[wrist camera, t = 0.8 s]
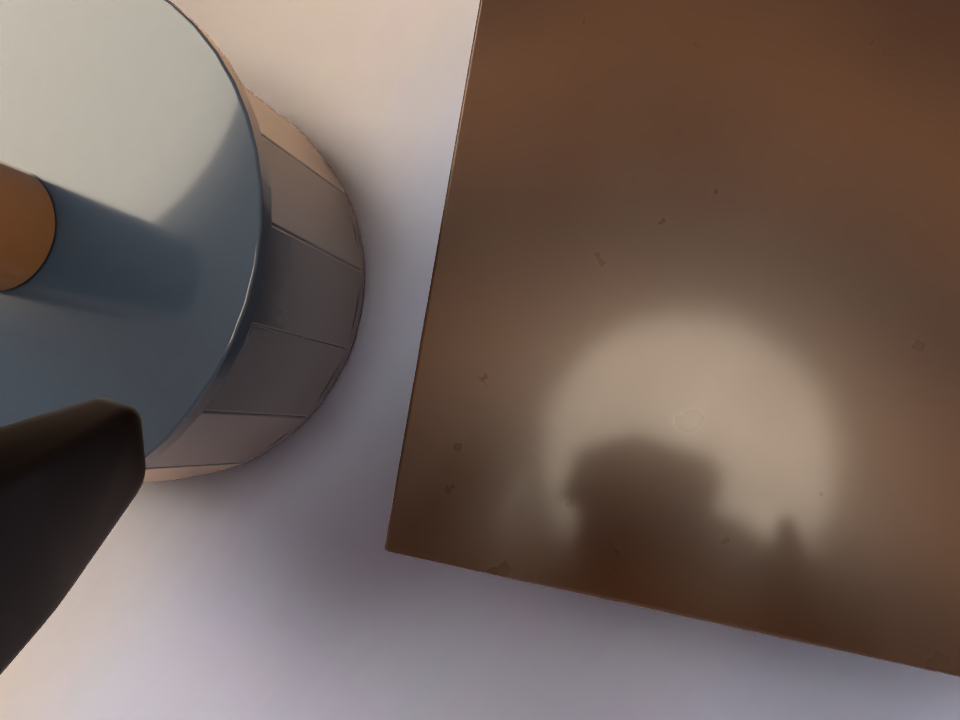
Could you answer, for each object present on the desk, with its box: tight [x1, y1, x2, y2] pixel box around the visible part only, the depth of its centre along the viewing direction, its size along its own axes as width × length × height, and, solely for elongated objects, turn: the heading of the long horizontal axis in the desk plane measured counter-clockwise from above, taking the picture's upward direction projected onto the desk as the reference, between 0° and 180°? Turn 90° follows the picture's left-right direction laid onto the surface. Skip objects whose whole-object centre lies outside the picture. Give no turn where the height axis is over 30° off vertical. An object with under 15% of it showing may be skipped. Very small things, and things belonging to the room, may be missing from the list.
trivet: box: [385, 0, 960, 677], centre depth 20 cm, size 14×14×3 cm
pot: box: [143, 86, 364, 482], centre depth 21 cm, size 11×11×6 cm
